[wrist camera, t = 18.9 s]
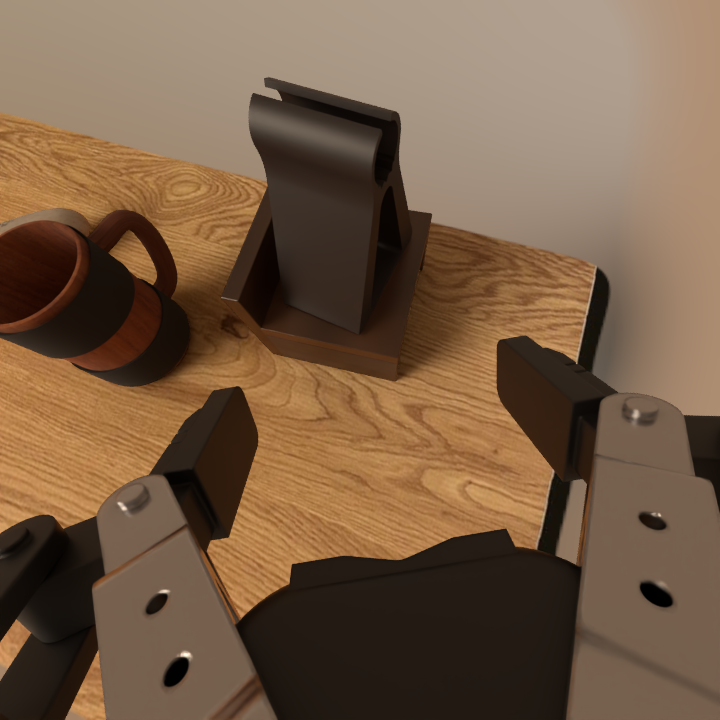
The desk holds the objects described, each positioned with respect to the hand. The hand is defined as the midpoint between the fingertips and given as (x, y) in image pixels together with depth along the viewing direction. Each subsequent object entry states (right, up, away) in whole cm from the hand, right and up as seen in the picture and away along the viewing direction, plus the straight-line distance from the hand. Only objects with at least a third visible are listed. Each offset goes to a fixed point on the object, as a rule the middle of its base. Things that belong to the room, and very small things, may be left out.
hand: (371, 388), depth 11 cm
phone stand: (-1, +7, +15) cm, 17 cm away
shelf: (-1, +6, +20) cm, 21 cm away
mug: (-19, +4, +21) cm, 28 cm away
